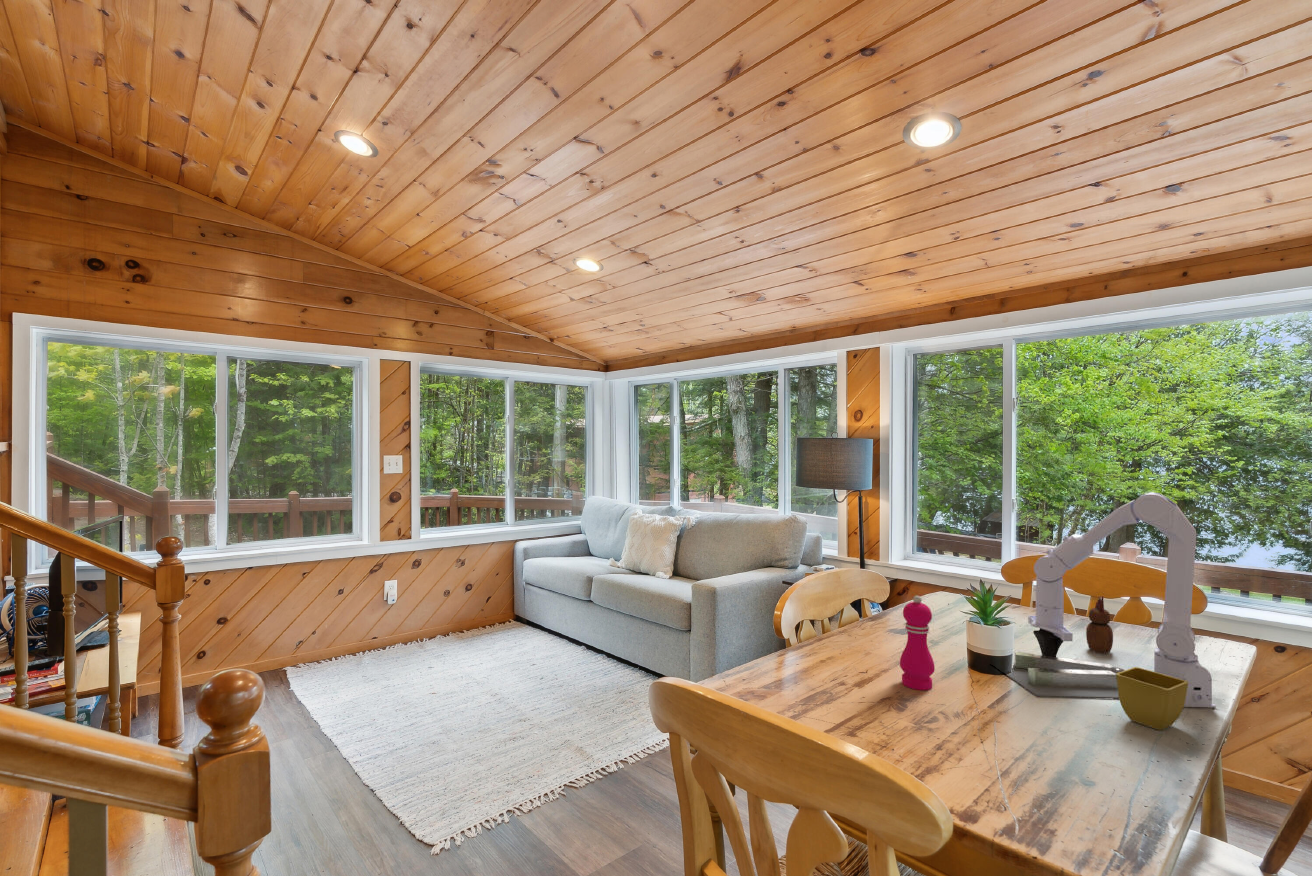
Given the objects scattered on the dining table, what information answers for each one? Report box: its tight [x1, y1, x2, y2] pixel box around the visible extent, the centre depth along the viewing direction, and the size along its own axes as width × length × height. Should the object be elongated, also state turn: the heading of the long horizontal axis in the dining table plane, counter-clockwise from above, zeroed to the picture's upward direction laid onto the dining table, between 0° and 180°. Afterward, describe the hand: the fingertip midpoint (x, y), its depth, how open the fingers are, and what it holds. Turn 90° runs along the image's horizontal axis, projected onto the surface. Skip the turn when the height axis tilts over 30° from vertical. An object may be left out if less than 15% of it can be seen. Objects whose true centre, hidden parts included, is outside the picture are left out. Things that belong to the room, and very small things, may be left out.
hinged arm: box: [1014, 651, 1125, 674], centre depth 143 cm, size 21×4×3 cm, turn 64°
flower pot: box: [1116, 666, 1188, 731], centre depth 119 cm, size 9×9×9 cm
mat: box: [1006, 662, 1119, 700], centre depth 140 cm, size 20×27×1 cm
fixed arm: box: [1028, 668, 1117, 688], centre depth 137 cm, size 18×2×3 cm, turn 88°
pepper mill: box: [899, 595, 935, 691], centre depth 137 cm, size 7×7×20 cm
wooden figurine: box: [1085, 595, 1114, 654], centre depth 162 cm, size 7×6×15 cm
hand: (1049, 662), depth 147 cm, fingers closed
